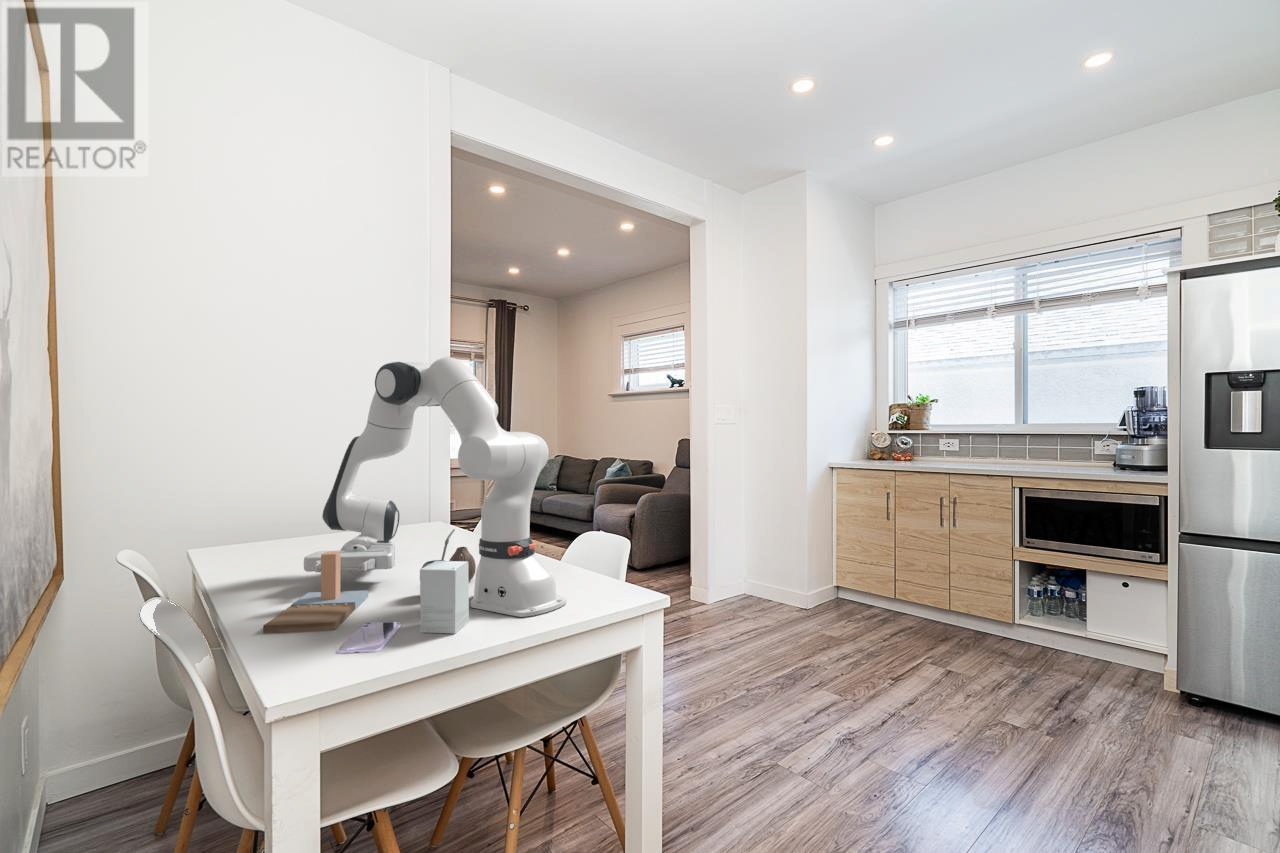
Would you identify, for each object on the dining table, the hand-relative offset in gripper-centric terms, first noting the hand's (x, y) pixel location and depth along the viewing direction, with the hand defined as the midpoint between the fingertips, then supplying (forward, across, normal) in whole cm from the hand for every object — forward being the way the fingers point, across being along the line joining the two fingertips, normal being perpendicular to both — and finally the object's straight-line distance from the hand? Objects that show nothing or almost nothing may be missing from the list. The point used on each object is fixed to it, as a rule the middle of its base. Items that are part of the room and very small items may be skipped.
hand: (340, 568), depth 136 cm
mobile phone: (+27, +15, +8) cm, 32 cm away
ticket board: (+16, 0, +7) cm, 17 cm away
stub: (+5, 0, +7) cm, 9 cm away
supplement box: (+23, +28, +7) cm, 37 cm away
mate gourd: (+1, +22, +7) cm, 23 cm away
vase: (-11, +26, +7) cm, 29 cm away
